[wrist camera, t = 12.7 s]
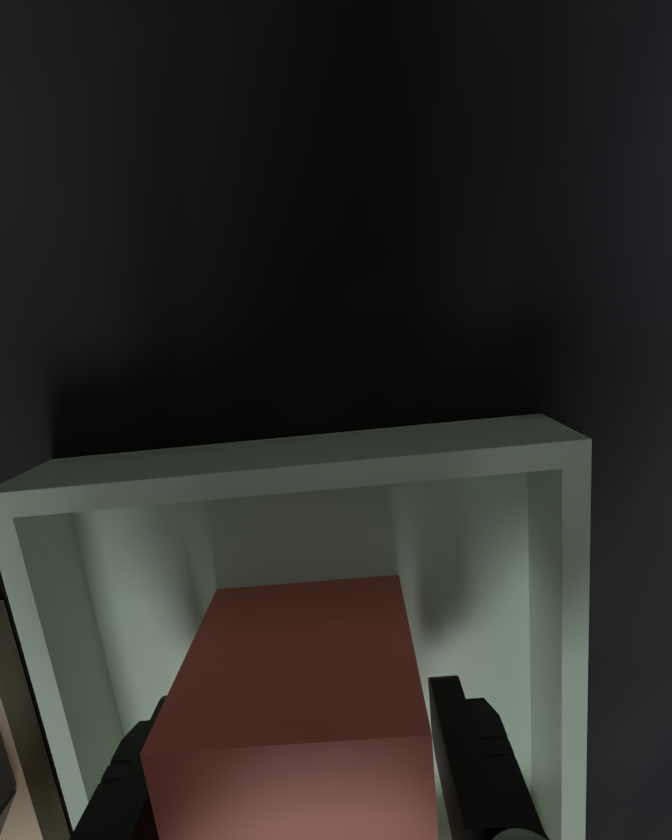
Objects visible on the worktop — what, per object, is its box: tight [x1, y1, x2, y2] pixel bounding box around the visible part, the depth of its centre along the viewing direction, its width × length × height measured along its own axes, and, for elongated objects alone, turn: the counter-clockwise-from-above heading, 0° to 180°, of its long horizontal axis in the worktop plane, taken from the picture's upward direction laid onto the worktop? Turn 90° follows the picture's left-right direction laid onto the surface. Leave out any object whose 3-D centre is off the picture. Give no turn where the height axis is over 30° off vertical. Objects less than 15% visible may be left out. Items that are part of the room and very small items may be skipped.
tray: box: [0, 413, 592, 840], centre depth 13 cm, size 13×13×3 cm
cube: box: [140, 575, 439, 840], centre depth 11 cm, size 5×5×5 cm
